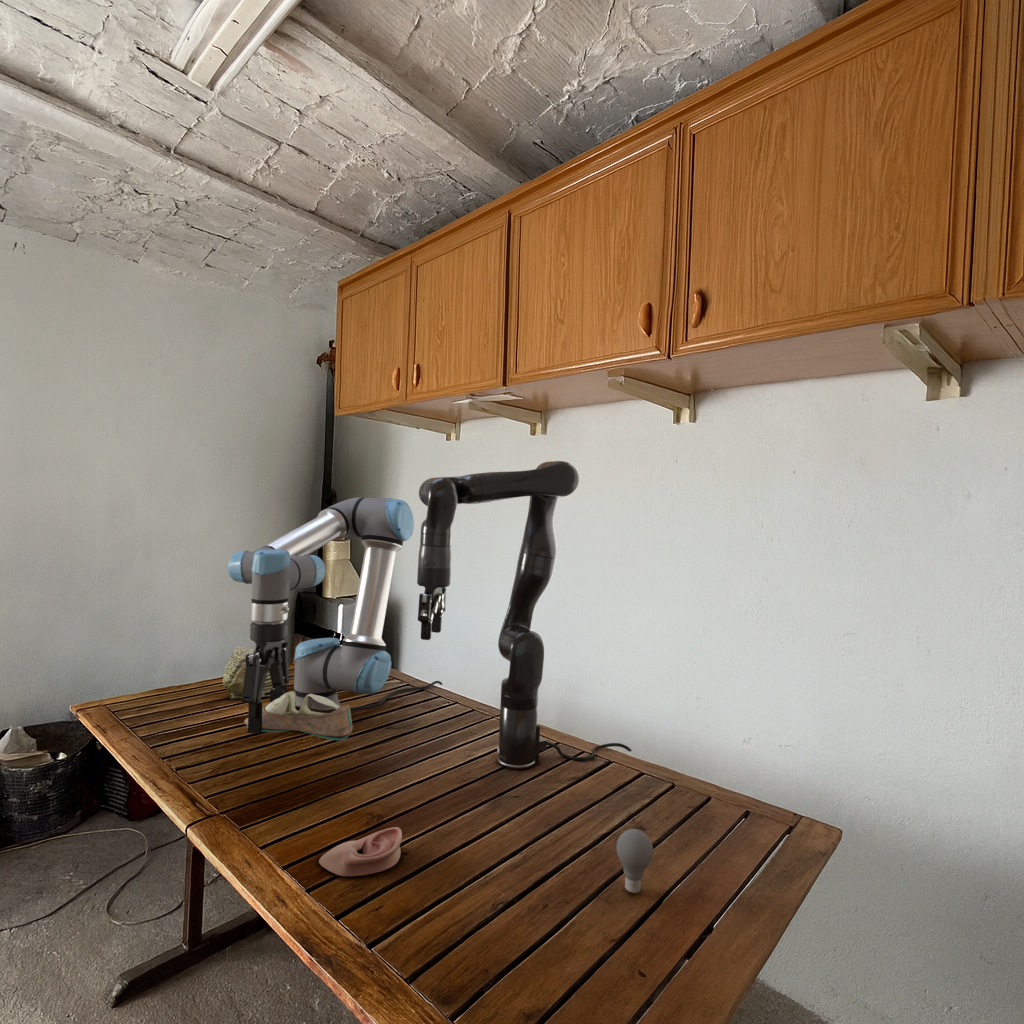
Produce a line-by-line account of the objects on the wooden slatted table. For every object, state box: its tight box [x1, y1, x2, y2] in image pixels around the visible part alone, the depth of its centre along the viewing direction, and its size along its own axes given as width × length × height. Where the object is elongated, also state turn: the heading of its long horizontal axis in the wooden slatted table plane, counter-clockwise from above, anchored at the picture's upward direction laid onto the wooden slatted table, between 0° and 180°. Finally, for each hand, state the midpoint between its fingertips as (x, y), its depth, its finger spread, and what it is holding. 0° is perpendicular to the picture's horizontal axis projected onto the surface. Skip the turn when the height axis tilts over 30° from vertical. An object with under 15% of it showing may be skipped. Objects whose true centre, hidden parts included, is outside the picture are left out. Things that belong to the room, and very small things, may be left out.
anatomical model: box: [318, 826, 403, 877], centre depth 111 cm, size 13×4×12 cm
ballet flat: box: [244, 690, 354, 741], centre depth 136 cm, size 8×25×8 cm, turn 81°
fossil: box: [222, 646, 287, 699], centre depth 198 cm, size 9×18×15 cm, turn 132°
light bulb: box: [615, 828, 654, 894], centre depth 106 cm, size 6×6×10 cm
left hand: (265, 725), depth 138 cm, fingers closed on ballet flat, 8 cm apart
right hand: (431, 635), depth 144 cm, fingers open, 8 cm apart
